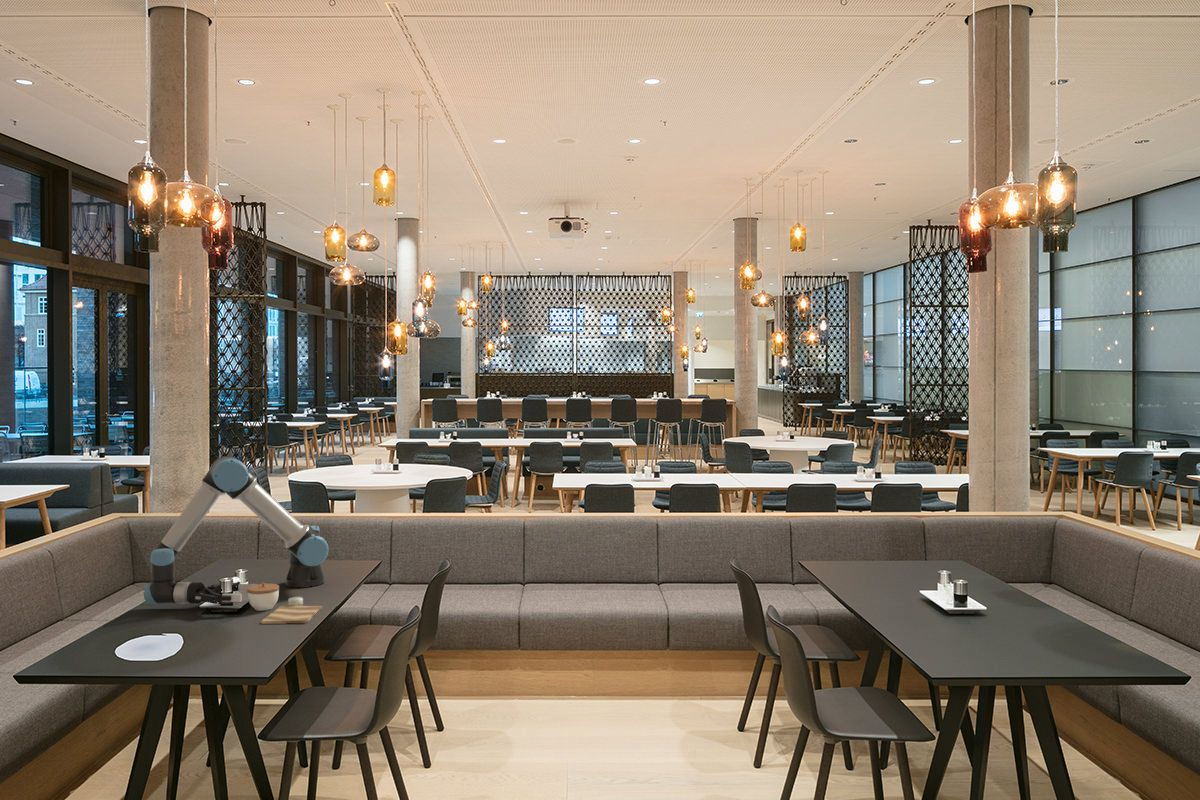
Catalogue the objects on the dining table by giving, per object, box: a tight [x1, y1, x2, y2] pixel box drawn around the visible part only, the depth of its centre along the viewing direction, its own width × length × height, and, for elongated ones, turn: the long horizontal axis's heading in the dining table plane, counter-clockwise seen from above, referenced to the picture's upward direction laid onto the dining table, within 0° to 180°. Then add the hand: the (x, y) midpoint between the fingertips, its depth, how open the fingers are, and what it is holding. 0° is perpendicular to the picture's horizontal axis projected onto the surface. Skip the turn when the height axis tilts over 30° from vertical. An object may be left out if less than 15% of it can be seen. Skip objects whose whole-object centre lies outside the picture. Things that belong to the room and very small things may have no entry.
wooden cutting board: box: [261, 605, 323, 625], centre depth 305 cm, size 18×15×1 cm
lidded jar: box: [247, 582, 280, 612], centre depth 315 cm, size 11×11×9 cm
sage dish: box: [287, 596, 304, 606], centre depth 317 cm, size 5×5×3 cm
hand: (249, 592), depth 314 cm, fingers open, 13 cm apart
